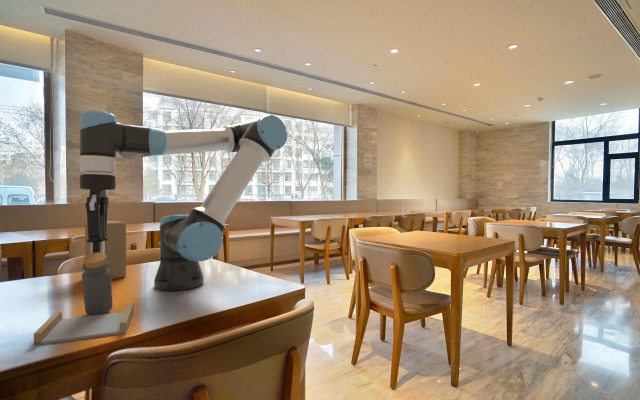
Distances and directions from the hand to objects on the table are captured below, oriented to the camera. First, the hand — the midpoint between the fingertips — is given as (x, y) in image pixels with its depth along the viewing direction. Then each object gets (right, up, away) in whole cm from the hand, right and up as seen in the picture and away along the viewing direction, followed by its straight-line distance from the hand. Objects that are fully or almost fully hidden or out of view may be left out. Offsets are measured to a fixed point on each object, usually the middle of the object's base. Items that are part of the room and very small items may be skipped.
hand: (97, 267), depth 84 cm
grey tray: (+4, -12, -9) cm, 15 cm away
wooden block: (-20, -11, +35) cm, 41 cm away
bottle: (0, -11, +1) cm, 11 cm away
